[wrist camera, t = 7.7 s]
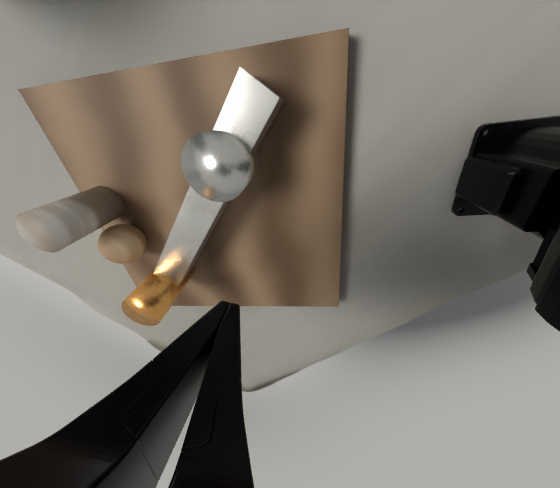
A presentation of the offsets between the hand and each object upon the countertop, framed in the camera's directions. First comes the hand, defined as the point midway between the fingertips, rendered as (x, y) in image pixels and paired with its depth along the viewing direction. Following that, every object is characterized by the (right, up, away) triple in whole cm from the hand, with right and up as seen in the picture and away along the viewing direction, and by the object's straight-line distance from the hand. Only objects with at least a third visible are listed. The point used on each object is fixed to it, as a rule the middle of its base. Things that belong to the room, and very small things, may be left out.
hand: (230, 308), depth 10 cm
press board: (-4, +6, +11) cm, 13 cm away
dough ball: (-12, +3, +10) cm, 16 cm away
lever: (-4, +6, +9) cm, 11 cm away
